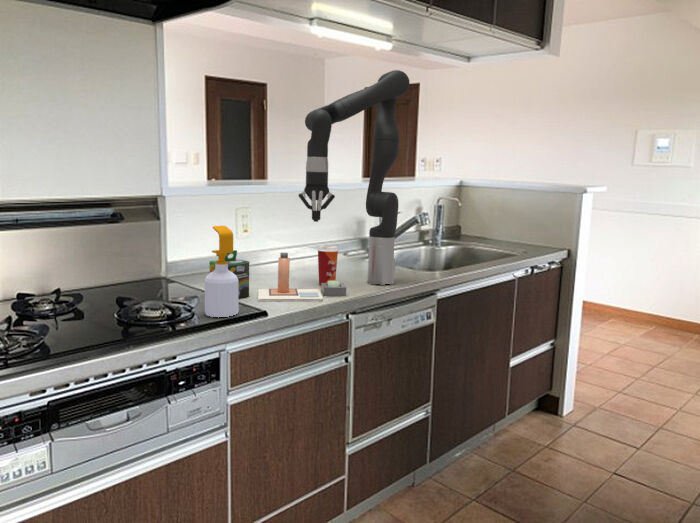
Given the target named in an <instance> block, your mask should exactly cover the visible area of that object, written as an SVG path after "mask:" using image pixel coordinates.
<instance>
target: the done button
mask: <svg viewBox="0 0 700 523" xmlns="http://www.w3.org/2000/svg"><path fill="white" fill-rule="evenodd" d="M340 283H341V282H340V280H337V279H335V280H330V281H328V287H340Z"/></svg>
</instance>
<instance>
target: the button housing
mask: <svg viewBox="0 0 700 523" xmlns="http://www.w3.org/2000/svg"><path fill="white" fill-rule="evenodd" d="M320 293H321V295H322V294H323V295H322V297H323V296H346V297H347V287H346V284H345V283H344V282H340V287H328V283H321V286H320Z"/></svg>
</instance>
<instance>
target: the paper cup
mask: <svg viewBox="0 0 700 523" xmlns="http://www.w3.org/2000/svg"><path fill="white" fill-rule="evenodd" d="M316 250H317V261H318V262H317V265H318V285H321V283H328V281H330V280H337V279H336V277H337V266H338V254H339V251H340V250H339V247H338V245H333V244H331V245H329V244H323V245H318V246H317V249H316Z"/></svg>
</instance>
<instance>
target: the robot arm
mask: <svg viewBox="0 0 700 523" xmlns="http://www.w3.org/2000/svg"><path fill="white" fill-rule="evenodd" d="M410 85H411V84H410V78H409V76H408V75H407V73H405V71H402V70H400V69H399V70H398V69H396V70H395V69H394V70H390V71H387V72H386V73H384V74H381V75H380V77H379V78H378V80H377V82H376V83H373V84H371V85H369V86H367V87H365V88H363V89H360V90H357V91H355V92H352V93H349V94H347V95H345V96H343V97H341V98H339V99H336V100H334V101H333V102H331V103H330V104H326V105H323V106H321V107H319V108H316V109H314V110H312V111H310V112H308V114H306V116H305V119H304V125H305V127H306V129H307V130H308V131H310V132H311V135H310V139H309V140H308V141H307V144H306V146H307V147H306V149H307V150H306V156H307V157H306V162H305V163H306V165H305V187H304V188H303V191H302V192H301V193H298V194H297V195H298V196H297V197H298V198H299V199H300V201H302V203H303V204H304V206H305V207H306V208H307V209H308V210H311V219H312V221H313V222H314V223H316V222H317V223H319V221H320V220H321V214H322V213H321V212H322V210H326V209H327V207H328V206H330V204H331V203H332V201H333V200H334V199H335V197H336V196H335V195H334V194H333V193H332V192H331V191H330V188H329V158H328V157H329V141H330V137H331V132H332V126H333V125H334V124H336V123H340V122H343V121H346V120H348V119H349V118H351V117H354V116H356V115H358V114H360V113H362V112H363V111H365V110H367V109H368V108H371V107H372V106H374V105H376V112H375V113H376V114H375V115H376V116H375V124H374V125H375V126H374V134H373V135H374V136H373V142H372V143H373V144H372V158H371V165H370V166H371V168H370V176H369V181H368V186H367V192H366V199H365V211H366V213H367V215H368V216H369V217H373V218H382V219H381V223H379V224H377V225H376V226H373V227H370V228H369V235H368V236H369V237H368V256H367V258H368V259H367V263H368V264H367V283H368V282H369V283H371V284H370V285H374V284H380V285H379V286H386V285H385V284H390V285H394V284H395V270H396V258H395V257H394V256H395V237H396V230H397V227H398V226H397V225H398V215H399V198H398V195H397V194H396V193H395V192H392V191H391V192H390V191H382V190H383V186H384V180H385V178H386V176H387V175H388V173H389V171H390V170H391V169H392V167H393V165H394V164H395V163H396V161H397V159H398V156H399V150H400V149H399V148H400V130H399V127H398V123H397V119H396V108H397V100H398V98H400V97H403V96H404V95H405V94H406V93H407V92H408V90H409V88H410ZM306 198H309V200H310V201H311V203H309V202H308V200H307V199H306ZM326 198H327V199H326ZM325 199H326V200H325ZM323 200H325V202H323ZM369 283H368V284H369Z"/></svg>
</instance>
